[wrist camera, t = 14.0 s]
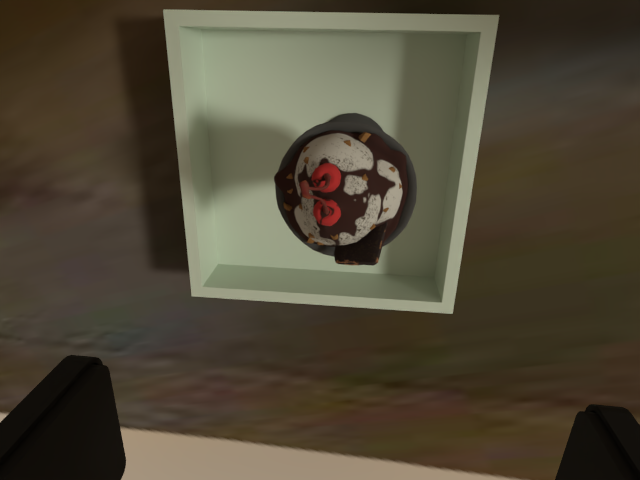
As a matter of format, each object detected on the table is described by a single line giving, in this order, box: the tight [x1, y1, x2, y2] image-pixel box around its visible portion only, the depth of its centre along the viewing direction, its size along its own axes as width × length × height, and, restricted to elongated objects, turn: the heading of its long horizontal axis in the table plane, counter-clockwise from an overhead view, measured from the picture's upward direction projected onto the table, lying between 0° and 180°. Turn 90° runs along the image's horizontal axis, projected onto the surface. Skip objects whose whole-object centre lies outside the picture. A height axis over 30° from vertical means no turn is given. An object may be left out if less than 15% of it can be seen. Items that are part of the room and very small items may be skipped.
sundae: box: [274, 113, 417, 266], centre depth 24 cm, size 7×7×15 cm
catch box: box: [163, 10, 499, 314], centre depth 30 cm, size 18×18×4 cm
